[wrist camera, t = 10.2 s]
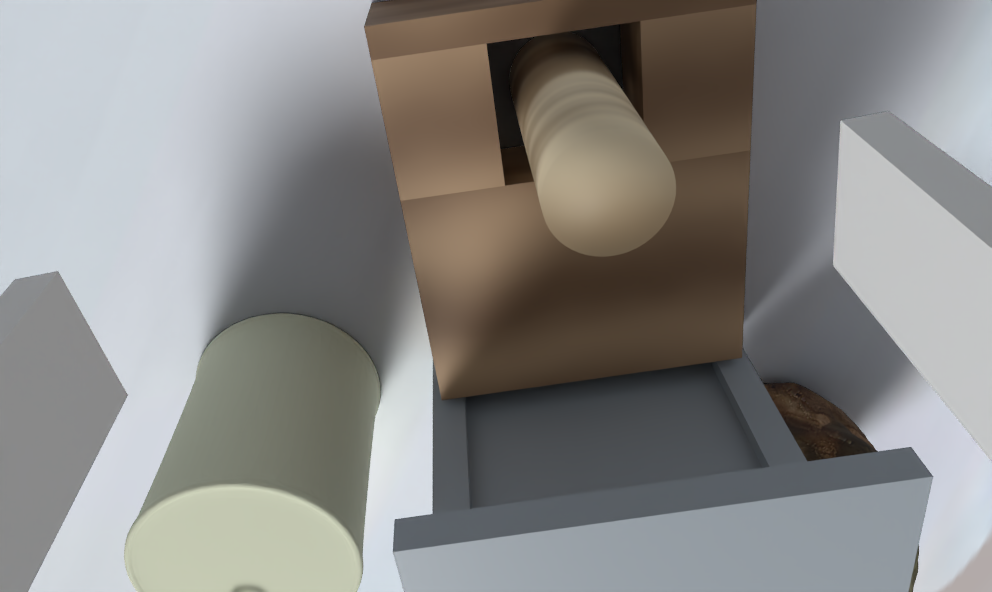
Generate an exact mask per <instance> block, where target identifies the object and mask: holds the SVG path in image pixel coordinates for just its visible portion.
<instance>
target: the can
mask: <svg viewBox="0 0 992 592" xmlns="http://www.w3.org/2000/svg"><path fill="white" fill-rule="evenodd" d="M379 402H380V381H379V377H378V374H377V371H376V368H375V366H374V364H373V362H372V360H371V359H370V357H369V355H368V354H367V352H366V351H365V350H364V349H363V348H362V346H361V345H360V344H359V343H358V342H357V341H356V340H354V339H353V338H352V337H351V336H349V335H348V334H347V333H345V332H343V331H342V330H340V329H339V328H337V327H335V326H333V325H331V324H329V323H327V322H324V321H322V320H319V319H316V318H312V317H308V316H303V315H297V314H288V313H276V314H266V315H260V316H256V317H251V318H248V319H245V320H242V321H240V322H238V323H236V324H234V325H232V326H230V327H228V328H227V329H225V330H224V331H223V332H221V333H220V334H219V335H218V336H217V337H215V338H214V339H213V340H212V341H211V343H210V344H209V345H208V347H207V348H206V349H205V351H204V353H203V355H202V356H201V359H200V361H199V364H198V367H197V371H196V379H195V382H194V384H193V387H192V390H191V392H190V395H189V397H188V400H187V402H186V405H185V407H184V410H183V412H182V415H181V417H180V419H179V422H178V424H177V427H176V429H175V431H174V434H173V436H172V439H171V441H170V443H169V446H168V448H167V451H166V453H165V455H164V458H163V460H162V463H161V465H160V467H159V469H158V472H157V474H156V476H155V479H154V481H153V483H152V486H151V488H150V490H149V492H148V495H147V497H146V499H145V502H144V504H143V506H142V508H141V511H140V513H139V515H138V517H137V519H136V520H135V522H134V523H133V525H132V527H131V528H130V531H129V533H128V535H127V539H126V543H125V550H124V560H125V566H126V570H127V574H128V576H129V579H130V581H131V583H132V584H133V586H134V588H135V589H136V591H137V592H357V590H358V588H359V585H360V583H361V579H362V574H363V557H362V556H363V538H364V525H365V513H366V502H367V490H368V479H369V468H370V458H371V448H372V439H373V430H374V421H375V415H376V413H377V410H378V407H379Z"/></svg>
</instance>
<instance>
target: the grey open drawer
mask: <svg viewBox="0 0 992 592" xmlns="http://www.w3.org/2000/svg"><path fill="white" fill-rule="evenodd" d="M932 479H933V476H932V474H931V473H930V472H929V470H928V469H927V468H926V466H925V465H924V464H923V462H922V461H921V460H920V458H919V457H918V456H917V454H916V453H915V452H914V450H913V449H912V448H911V447H907V448H900V449H893V450H886V451H879V452H872V453H865V454H858V455H850V456H843V457H836V458H829V459H822V460H815V461H808V462H807V460H806V458H805V456H804V455H803V453H802V451H801V449H800V448H799V446H798V444H797V442H796V441H795V439H794V437H793V435H792V434H791V432H790V430H789V428H788V427H787V425H786V423H785V421H784V420H783V418H782V416H781V414H780V413H779V411H778V409H777V407H776V406H775V404H774V402H773V400H772V399H771V397H770V395H769V393H768V391H767V390H766V388H765V386H764V384H763V383H762V381H761V379H760V377H759V376H758V374H757V372H756V370H755V369H754V367H753V365H752V363H751V362H750V360H749V358H748V356H747V355H746V353H745V351H744V349H743V348H742V358H737V359H730V360H723V361H716V362H709V363H702V364H695V365H688V366H681V367H674V368H667V369H660V370H653V371H645V372H638V373H631V374H624V375H617V376H610V377H603V378H596V379H589V380H582V381H575V382H568V383H561V384H554V385H547V386H540V387H533V388H526V389H519V390H511V391H504V392H497V393H490V394H483V395H476V396H469V397H462V398H455V399H448V400H442V399H441V394H440V389H439V385H438V380H437V375H436V370H435V365H434V361H433V514H430V515H423V516H416V517H409V518H402V519H395V523H394V541H393V554H394V558H395V561H396V565H397V568H398V572H399V575H400V579H401V582H402V586H403V590H404V592H908V591H909V587H910V582H911V577H912V573H913V568H914V563H915V559H916V554H917V549H918V545H919V540H920V535H921V531H922V526H923V521H924V517H925V512H926V507H927V503H928V498H929V493H930V489H931V484H932Z"/></svg>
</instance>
